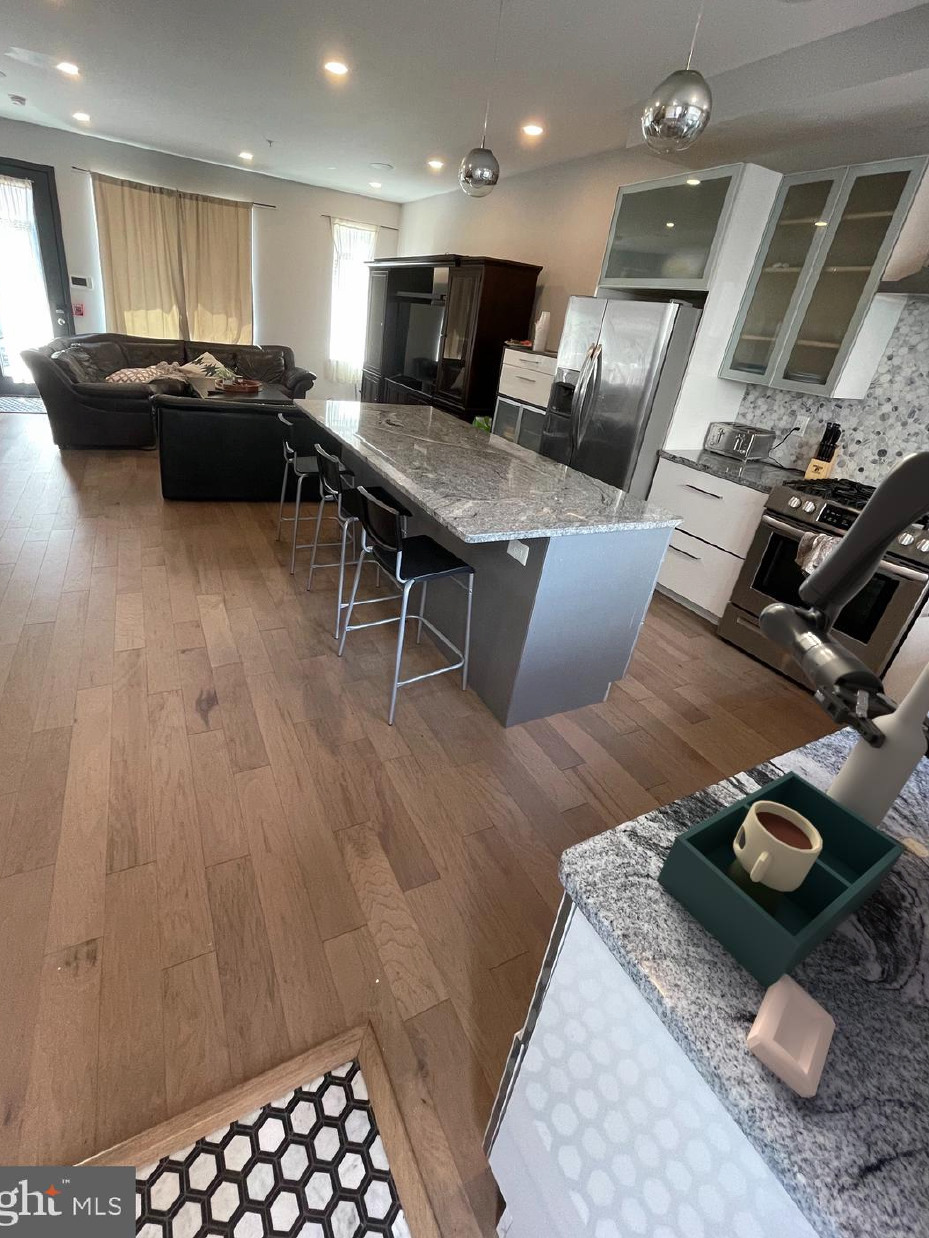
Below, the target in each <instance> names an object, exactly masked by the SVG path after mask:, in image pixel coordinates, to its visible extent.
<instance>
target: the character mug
mask: <svg viewBox="0 0 929 1238" xmlns="http://www.w3.org/2000/svg"><path fill="white" fill-rule="evenodd" d="M733 848H734V852H735V854H736V856H737V858H736V860H735V861H734V862H733V863H732V864H731V866H730V867H729V868H728V869H727V871H726V872H725V873H724V875H726V876H727V877H728V878H729V879H730V880H731V881H732V882H733V883H734V884H736V885H737V886H738V887H739V888H740V889H741V890H742V891H743V892H745V893H746V894H747V895H748V896H749V897H750V898H751V899H752V900H753V901H755V902H756V903H757V904H758V905H759V906H760V907H761V908H762V909H763V910H765V911H766V912H767V913H768V914H769V915H770V916H771V917H772V918H773V919H774V918H775V916H776V913H777V911H778V909H779V906H780V903H781V900H782V897H783V894H784V891H793V890H795V889H796V888H798V887H799V886H800V885H801V883H802V882H803V880H804V878H805V877H806V875H807V873H808V872H809V870H810V868H811V867H812V865H813V863H814V862H815V860H816V858H817V857H818V855H819V853H820V851H821V849H822V839H821V837H820V835H819V833H818V831H817V830H816V829H815V827H814V826H813V825H812V824H811V823H810V822H809V821H808V820H807V819H805V818H804V817H803V816H801V815H800V814H799V813H797V812H796V811H794V810H792V809H790V808H788V807H786V806H784V805H782V804H778V803H775V802H771V801H758V802H755V803H754V804H753V805H752V807H751V809H750V811H749V813H748V815H747V817H746V819H745V821H744V822H743V824H742V826H741V828H740V830H739V831H738V834H737V836H736V838H735V840H734V845H733Z"/></svg>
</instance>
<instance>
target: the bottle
mask: <svg viewBox="0 0 929 1238" xmlns="http://www.w3.org/2000/svg"><path fill="white" fill-rule="evenodd" d="M928 714H929V661H928V662H927V663H926V665H925V667H924V668H923V670H922V672H921V673H920V674H919V677H918V678H917V679H916V681H915V683H914V684H913V686H912V687H911V689H910V690H909V692H908V693H907V695H906V696H905V698H904V699H903V700H902V701H901V703H900V704H899V707H898V709H897V710H896V711H895V712H894V713H893V714H889V715H885V716H879V717H877V718H875V719H872V721H873V722H874V724H875V725H876V726H877V727H878V728H879V729H880V730H881V731H882V732H883V733H884V734H885V736H886V739H885V741H884V743H883V744H882V746H881V748H879V749H878V748H873V747H871V746H870V744H869V743H868V742H867V741H865V740H864V739H863V738H862V736H861V735H860V737H859V738H858V740H857V742H856V743H855V745H854V746H853V748H852V750H851V751H850V753H849V755H848V757H847V759H846V760H845V761H844V762H843V765H842V767H841V768H840V770H839V771H838V774H837V775H836V776H835V778H834V780H833V782H832V783H831V784H830V786H829V788H828V790H827V792H825V794H827V795H828V796H830V797H831V798H833V799H834V800H835V801H837V802H838V803H840V804H841V805H843V806H844V807H846V808H847V809H849V810H850V811H852V812H853V813H855V814H856V815H858V816H859V817H861V818H862V819H864V820H865V821H867V822H868V823H869V824H871V825H872V826H874V827H875V828H877V829H879V828H878V827H880V824H882V822H883V821H884V819H885V817H886V815H887V814H888V813H889V811H890V809H891V807H892V806H893V805H894V803H895V802H896V800H897V799H898V796H899V795H900V793H901V792H902V790H903V789H904V787H905V786H906V784H907V783H908V781H909V780H910V778H911V776H912V775H913V773H914V771H915V770H916V769H917V767H918V765H919V764H920V762H921V761H922V759H923V758H924V757H925V756H924V754H925V753H926V751H927V748H928V745H927V740H926V738H925V735H924V733H923V730H922V723H923V721H924V719H925V718H926V716H928Z"/></svg>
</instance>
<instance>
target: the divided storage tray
mask: <svg viewBox="0 0 929 1238" xmlns="http://www.w3.org/2000/svg"><path fill="white" fill-rule="evenodd" d="M758 801H771V802H775V803H778V804H782V805H784V806H786V807H788V808H790V809H792V810H794V811H796V812H797V813H799V814H800V815H801V816H803V817H804V818H805V819H807V820H808V821H809V822H810V823H811V824H812V825H813V826H814V827H815V829H816V830H817V831H818V833H819V835H820V837H821V839H822V849H821V851H820V853H819V855H818V857H817V858H816V860H815V862H814V863H813V865H812V867H811V868H810V870H809V872H808V873H807V875H806V877H805V878H804V880H803V882H802V883H801V885H800V886H799V887H798V888H796V889H795V890H793V891H784V894H783V897H782V900H781V903H780V906H779V909H778V911H777V913H776V916H775V918H774V919H773V918H772V917H771V916H770V915H769V914H768V913H767V912H766V911H765V910H763V909H762V908H761V907H760V906H759V905H758V904H757V903H756V902H755V901H753V900H752V899H751V898H750V897H749V896H748V895H747V894H746V893H745V892H743V891H742V890H741V889H740V888H739V887H738V886H737V885H736V884H734V883H733V882H732V881H731V880H730V879H729V878H728V877H727V876H726V875H724V873H725V872H726V871H727V869H728V868H729V867H730V866H731V864H732V863H733V862H734V861H735V860H736V858H737V856H736V854H735V852H734V848H733V845H734V840H735V838H736V836H737V834H738V831H739V830H740V828H741V826H742V824H743V822H744V821H745V819H746V817H747V815H748V813H749V811H750V809H751V807H752V805H753V804H754V803H755V802H758ZM906 850H907V847H906V846H904V845H902V844H901V843H899V842H898V841H896V839H893V838H892V837H890V836H889V835H888V834H886V833H885V832H883V831H881V830H880V829H879V828H875V827H874V826H872V825H871V824H869V823H868V822H867V821H865V820H864V819H862V818H861V817H859V816H858V815H856V814H855V813H853V812H852V811H850V810H849V809H847V808H846V807H844V806H843V805H841V804H840V803H838V802H837V801H835V800H834V799H833V798H831V797H830V796H828V795H827V794H826V792H824V791H822V790H821V789H819V788H818V787H817V786H815V785H813V784H812V783H810V782H809V781H807V780H806V779H804V778H803V777H802V776H800V775H798V774H797V773H795V772H794V771H793V770H789V771H788V772H786V773H785V774H782V775H781V776H779V777H777V778H776V779H774V780H773V781H771V782H769V783H767V784H766V785H764V786H761V787H760V788H758V789H757V790H755V791H753V792H752V793H750V794H748V795H746V796H745V797H743V798H741V799H739V800H737V801H736V802H734V803H732V804H730V805H729V806H727V807H725V808H723V809H721V810H720V811H719V812H718V811H717V812H716V813H715V814H712V815H711V816H710V817H707V818H706V819H704V820H702V821H701V822H699V823H698V824H695V825H694V826H692V827H690V828H689V829H687V830H685V831H683V832H681V833H680V834H678V835H677V836H675V838H674V840H673V843H672V845H671V847H670V849H669V851H668V854H667V855H666V858H665V860H664V863H663V865H662V867H661V869H660V872H659V874H658V875H657V878H656V880H657V881H658V883H659V884H660V885H662V886H663V888H664V889H665V890H667V891H668V893H670V895H672V897H673V898H674V899H675V900H677V902H678V903H679V904H680V905H681V906H682V907H684V909H685V910H686V911H687V912H688V913H689V914H690V915H691V916H692V917H693V918H694V919H695V920H696V921H697V922H698V923H699V924H700V925H701V926H702V927H703V928H704V929H705V930H706V931H707V932H708V933H709V934H710V935H711V936H712V937H713V938H714V939H715V940H716V941H717V942H718V943H719V944H720V945H721V946H722V947H723V948H724V949H725V950H726V951H727V952H728V953H729V954H730V955H731V956H732V957H733V958H734V959H735V960H736V961H737V962H738V963H739V964H740V965H741V966H742V967H743V969H745V970H746V971H747V972H748V973H749V974H750V975H751V976H752V977H753V978H754V979H755V980H756V981H757V982H758V983H759V985H760V986H762V987H763V988H764V989H765V990H766V991H767V990H768V988H769V987H770V986H771V985H773V984H775V983H776V982H777V981H778V980H779V979H780V978H781V977H782V976H783V975H784V974H788V975H789V976H790V974H792V973H793V972H794V971H795V970H796V969H797V968H798V967H799V966H800V965H801V964H802V963H803V962H804V961H805V960H806V959H807V958H808V957H809V956H810V955H812V953H814V952H815V950H816V949H818V947H820V946H821V945H822V944H823V943H824V942H825V941H826V940H827V939H828V938H829V937H830V936H831V935H832V934H833V933H835V932H836V930H838V929H839V928H840V927H841V926H842V925H843V924H844V923H845V922H846V921H847V920H848V919H849V918H850V917H851V916H852V915H853V914H854V913H855V912H856V911H857V910H858V909H859V908H861V906H862V905H864V903H866V902H867V901H868V900H869V899H870V898H871V897H872V896H873V895H874V894H875V893H876V892H877V891H878V890H879V889H880V888H881V886H882V885H883V883H884V882H885V881H886V879H887V878H888V876H889V874H890V873H891V872H892V870H893V869H894V867H895V865H896V864H897V863H898V861H899V860H900V858H901V857H902V855H903V854H904V852H905V851H906Z"/></svg>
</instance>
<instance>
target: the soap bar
mask: <svg viewBox="0 0 929 1238" xmlns="http://www.w3.org/2000/svg"><path fill="white" fill-rule="evenodd" d="M835 1028H836V1023H835V1020H834V1018H833V1016H832V1015H831V1014H829V1012H827V1010H826V1009H825V1008H823V1007H822V1005H820V1004H819V1003H818V1001H817V1000H815V999H814V998H813V997H812V996H811V995H810V994H809V993H808V992H807V991H806V990H805V989H804V988H802V986H801V985H800V984H798V983H797V981H796V980H794V979H793V978H792V977H791V975H790V974H789V975H788V974H784V975H783V976H782V977H781V978H780V979H779V980H778V981H777V982H776V983H775V984H773V985H771V986H770V987H769V988H768V990H766V993H765V995H764V998H763V1000H762V1002H761V1005H760V1007H759V1009H758V1012H757V1014H756V1017H755V1019H754V1021H753V1024H752V1026H751V1028H750V1031H749V1033H748V1036H747V1038H746V1044H747V1047H748V1049H749V1050H750V1052H752V1054H753V1055H754V1056H755V1057H756V1058H757V1059H758V1060H759V1061H760V1062H761V1063H762V1064H763V1065H765V1066H766V1067H767V1068H768V1069H769V1070H770V1071H771V1072H773V1073H774V1074H775V1075H776V1076H777V1077H778V1078H779V1079H780V1080H781V1081H783V1082H784V1083H785V1084H786V1085H788V1086H789V1088H791V1089H792V1090H793V1091H794V1092H795V1093H797V1094H798V1095H799V1096H800V1097H801V1098H806V1099H811V1098H812V1097H814V1096H816V1094H817V1091H818V1087H819V1083H820V1080H821V1076H822V1073H823V1069H824V1066H825V1062H826V1059H827V1055H828V1053H829V1049H830V1045H831V1043H832V1038H833V1035H834V1032H835Z"/></svg>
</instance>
